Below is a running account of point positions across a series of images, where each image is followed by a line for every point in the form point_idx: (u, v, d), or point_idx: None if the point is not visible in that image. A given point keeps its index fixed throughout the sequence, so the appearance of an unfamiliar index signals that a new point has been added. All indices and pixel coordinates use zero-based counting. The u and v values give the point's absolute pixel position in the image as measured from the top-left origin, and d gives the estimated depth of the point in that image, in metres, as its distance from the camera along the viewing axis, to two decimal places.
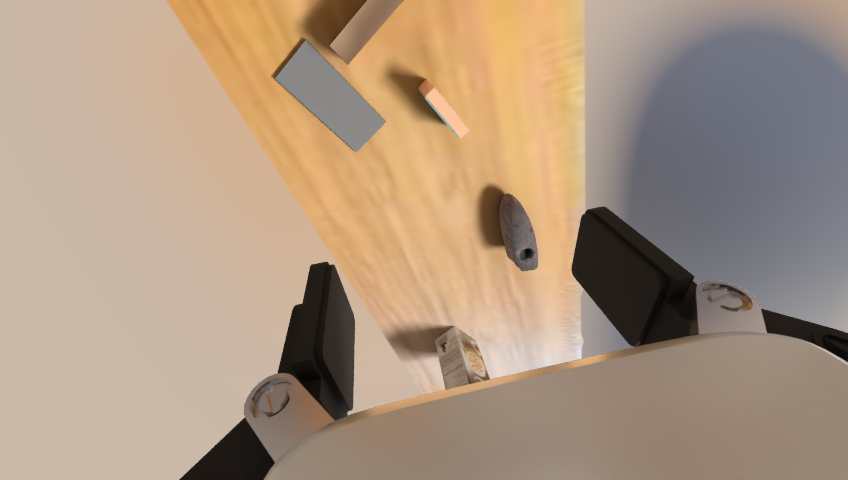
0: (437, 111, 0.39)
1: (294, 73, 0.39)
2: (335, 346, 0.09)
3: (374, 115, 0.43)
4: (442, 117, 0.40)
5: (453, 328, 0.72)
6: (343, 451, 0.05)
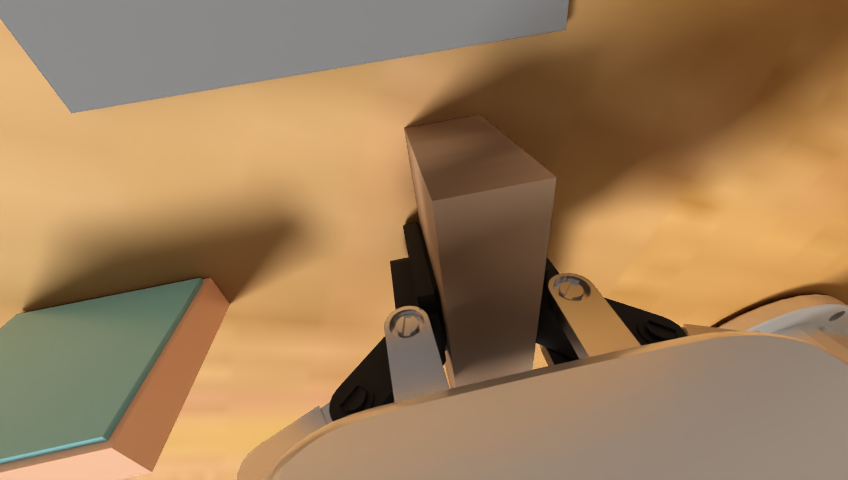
0: (8, 464, 0.07)
1: None
2: None
3: (126, 80, 0.08)
4: None
5: None
6: (343, 450, 0.05)
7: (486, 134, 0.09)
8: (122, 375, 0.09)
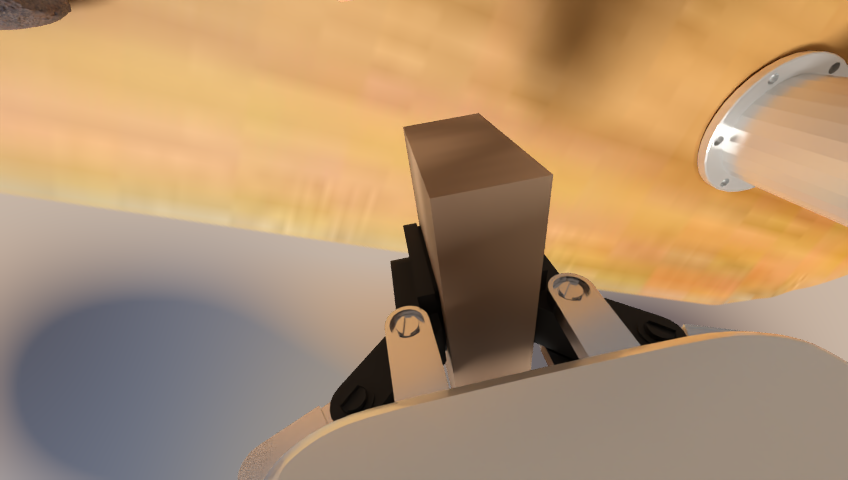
0: None
1: None
2: None
3: None
4: None
5: None
6: (343, 450, 0.05)
7: (484, 133, 0.09)
8: None
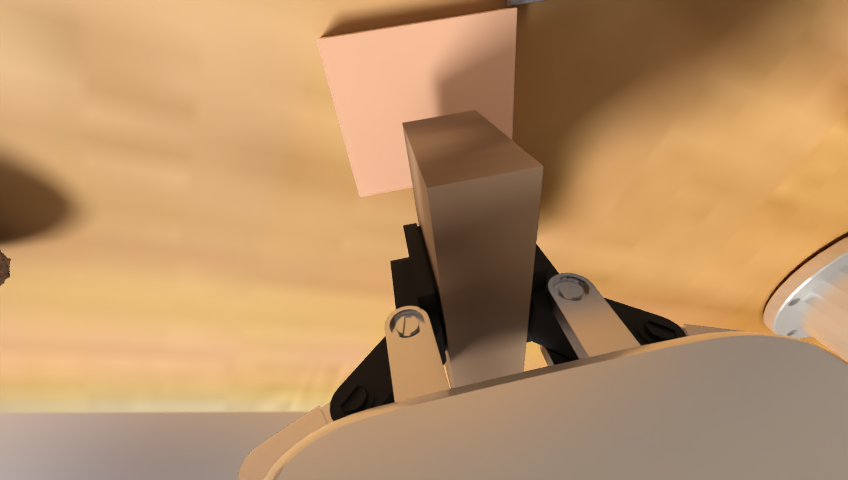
0: None
1: None
2: None
3: None
4: None
5: None
6: (343, 450, 0.05)
7: (480, 128, 0.09)
8: None
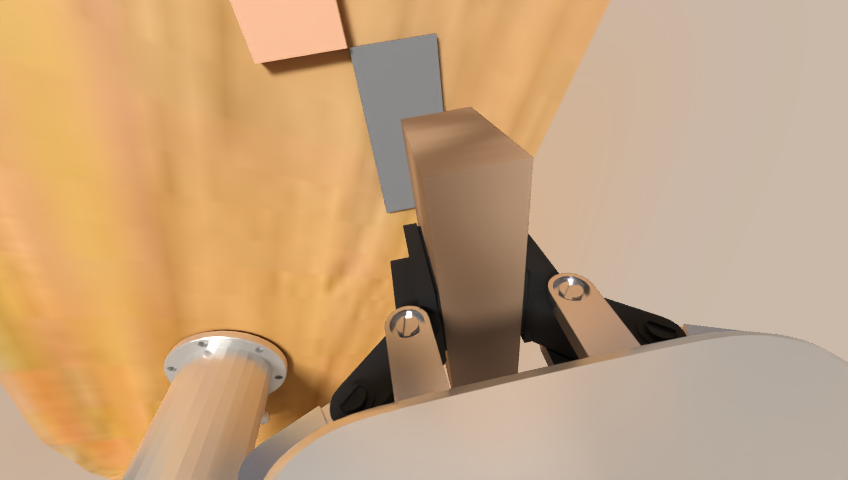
0: None
1: None
2: None
3: (362, 74, 0.22)
4: None
5: None
6: (344, 451, 0.05)
7: (475, 123, 0.10)
8: None
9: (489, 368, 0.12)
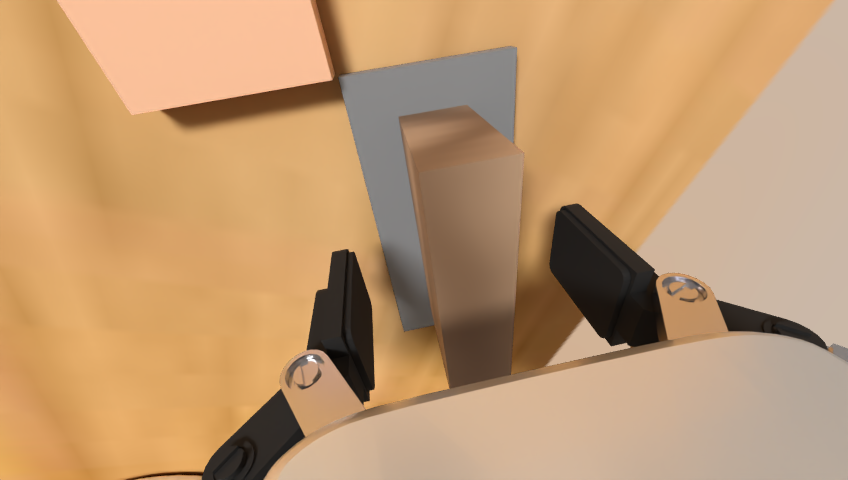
0: None
1: None
2: (359, 327, 0.10)
3: (365, 127, 0.11)
4: None
5: None
6: (343, 451, 0.05)
7: (470, 121, 0.10)
8: None
9: (484, 358, 0.12)
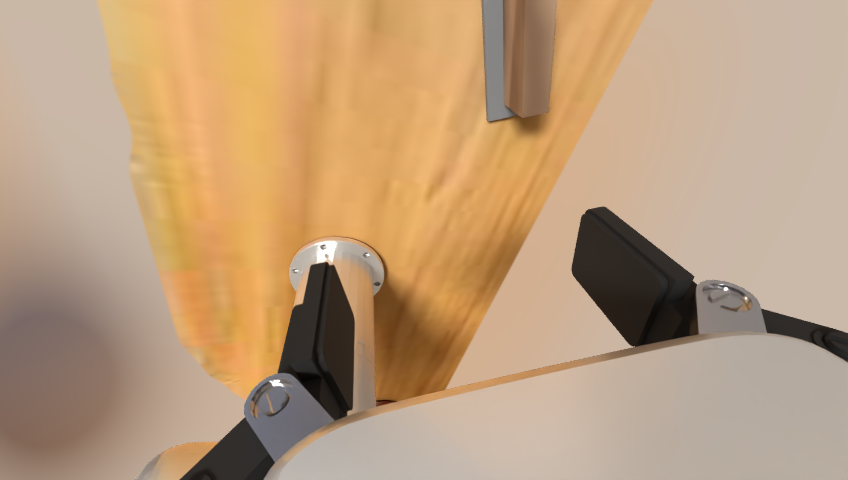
0: None
1: None
2: (335, 346, 0.09)
3: None
4: None
5: None
6: (344, 450, 0.05)
7: None
8: None
9: (538, 89, 0.28)
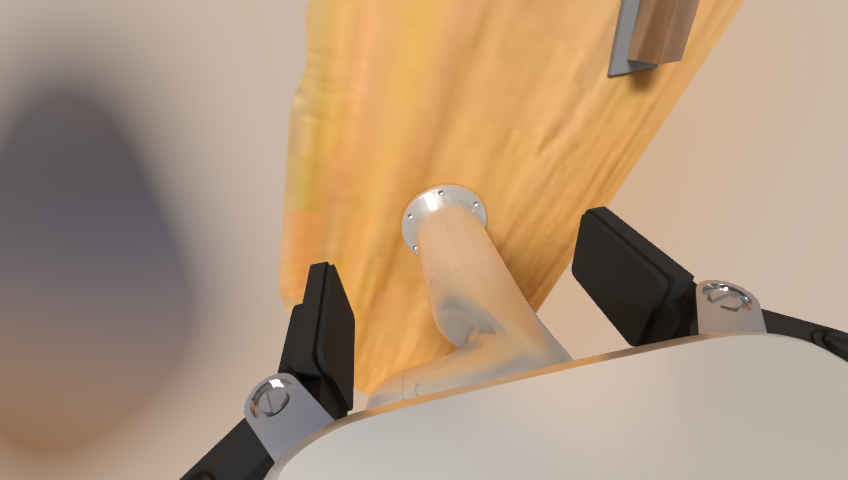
0: None
1: None
2: (335, 346, 0.09)
3: None
4: None
5: None
6: (344, 450, 0.05)
7: None
8: None
9: (678, 37, 0.32)
